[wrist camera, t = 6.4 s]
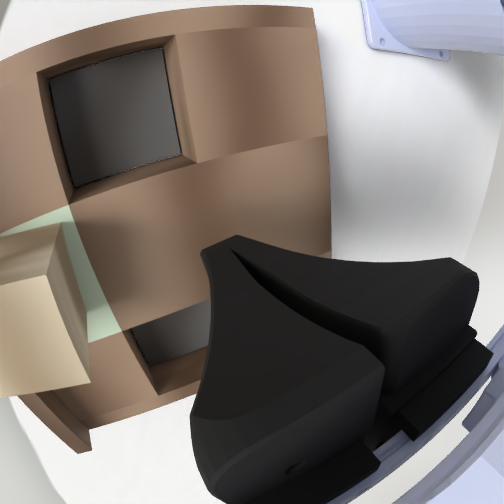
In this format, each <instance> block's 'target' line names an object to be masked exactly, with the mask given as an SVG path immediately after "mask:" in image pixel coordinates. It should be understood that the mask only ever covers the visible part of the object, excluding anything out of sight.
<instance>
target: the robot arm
mask: <svg viewBox="0 0 504 504" xmlns="http://www.w3.org/2000/svg"><path fill="white" fill-rule="evenodd" d="M361 2H362V8H363V14H364V21H365V27H366V35H367V42H368V44H369V46H370V47H371V48H373V49H379V50H387V51H394V52H400V53H407V54H413V55H418V56H423V57H429V58H433V59H438V60H443V61H449V60H450V51H449V50H462V51H473V52H483V53H491V54H498V55H504V0H361ZM380 42H381V44H380ZM200 256H201V259H202V261H203V264H204V267H205V270H206V272H207V275H208V278H209V284H210V298H211V321H210V333H209V342H208V349H207V355H206V360H205V364H204V369H203V373H202V378H201V382H200V385H199V389H198V392H197V395H196V398H195V401H194V404H193V407H192V410H191V413H190V428H191V439H192V446H193V452H194V456H195V460H196V464H197V467H198V470H199V472H200V474H201V477H202V479H203V481H204V483H205V485H206V487H207V489H208V491H209V492H210V493H211V494H212V495H213V496H214V497H216V498H218V499H219V500H221V501H223V502H225V503H226V504H348V503H349V502H351V501H352V500H354V499H355V498H357V497H358V496H360V495H361V494H363V493H364V492H366V491H367V490H369V489H370V488H372V487H373V486H374V485H376V484H377V483H379V482H380V481H381V480H383V479H384V478H385V477H387V476H388V475H389V474H391V473H392V472H393V471H395V470H396V469H397V468H398V467H400V466H401V465H402V464H403V463H405V462H406V461H407V460H408V459H409V458H411V457H412V456H413V455H414V454H415V453H417V452H418V451H419V450H420V449H421V448H422V447H423V446H425V444H427V443H428V442H429V441H430V440H431V439H432V438H433V437H434V436H435V435H436V434H438V433H439V432H440V431H441V430H442V429H443V428H444V427H445V426H446V425H447V424H448V423H449V422H450V421H451V420H452V419H453V418H454V417H455V416H456V415H457V414H458V413H459V412H460V410H461V409H462V408H463V407H464V406H465V405H466V404H467V403H468V402H469V401H470V400H471V399H472V397H473V396H474V395H475V394H476V393H477V392H478V391H479V389H480V388H481V387H482V386H483V385H484V384H485V382H486V381H487V380H488V379H489V377H490V376H491V379H492V380H491V381H490V383H489V384H488V386H487V387H486V388H485V389H484V391H483V393H482V395H481V397H480V398H479V400H478V401H477V403H476V404H475V406H474V407H473V409H472V410H471V412H470V413H469V414H468V415H467V417H466V418H465V419H464V420H463V422H462V425H463V426H464V427H465V428H466V429H467V430H468V431H469V432H470V433H469V434H468V435H467V436H466V437H465V438H464V439H463V440H462V441H461V442H460V444H459V445H458V446H457V447H456V448H455V449H454V450H453V451H452V452H451V453H450V454H449V455H448V456H447V457H446V458H445V459H444V460H443V461H442V462H440V463H439V464H438V465H437V466H436V467H435V468H434V469H433V470H432V471H431V472H430V473H428V474H427V475H426V476H425V477H424V478H423V479H422V480H421V481H420V482H418V483H417V484H416V485H415V486H414V487H412V488H411V489H410V490H409V491H407V492H406V493H405V494H404V495H402V496H401V497H400V498H399V499H397V500H396V501H395V502H393V503H392V504H504V325H503V326H502V327H501V329H500V330H499V331H498V333H497V334H496V335H495V336H494V338H493V339H492V340H491V341H490V342H489V344H488V345H487V346H486V347H485V346H484V345H482V344H481V343H480V342H479V341H477V340H476V339H475V337H476V335H477V331H476V330H475V329H473V328H472V327H471V326H469V325H468V324H469V321H470V319H471V316H472V313H473V309H474V307H475V303H476V300H477V296H478V292H479V278H478V275H477V273H476V272H474V271H472V270H471V269H469V268H467V267H466V266H464V265H463V264H461V263H459V262H458V261H456V260H454V259H453V258H450V257H448V258H440V259H432V260H423V261H413V262H358V261H345V260H337V259H330V258H323V257H317V256H312V255H307V254H303V253H298V252H294V251H290V250H286V249H283V248H279V247H276V246H272V245H269V244H266V243H263V242H260V241H256V240H253V239H250V238H247V237H244V236H240V235H234V236H232V237H230V238H227V239H225V240H223V241H220V242H218V243H216V244H214V245H211V246H209V247H207V248H205V249H202V251H201V253H200Z"/></svg>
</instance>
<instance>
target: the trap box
mask: <svg viewBox="0 0 504 504" xmlns="http://www.w3.org/2000/svg"><path fill="white" fill-rule="evenodd" d="M162 47H163V52H164V58H163V52H162V49H157V50H152V51H147V52H142V51H146V50H151V49H156V48H162ZM137 52H142V53H138V54H133V53H137ZM128 54H133V55H129V56H125V57H121V58H117V59H113V60H109V59H112V58H116V57H120V56H124V55H128ZM164 59H165V64H164ZM105 60H109V61H105ZM101 61H105V62H102V63H98V62H101ZM95 63H98V64H95ZM91 64H95V65H92V66H88V65H91ZM165 65H166V70H165ZM85 66H88V67H85ZM81 67H85V68H82V69H79V70H76V71H73V72H70V73H67V74H64V73H66V72H69V71H72V70H75V69H78V68H81ZM166 71H167V76H166ZM61 74H64V75H61ZM58 75H61V76H58ZM55 76H58V77H56V78H53V77H55ZM167 77H168V82H167ZM50 78H53V79H50ZM48 79H50V85H51V91H52V97H53V102H54V107H55V112H56V116H57V121H58V126H59V130H60V134H61V138H62V142H63V146H64V150H65V154H66V158H67V162H68V165H69V169H70V172H71V176H72V179H73V182H74V186H75V187H78V186H80V185H83V184H86V183H89V182H92V181H94V180H97V179H100V178H103V177H106V176H109V175H112V174H115V173H118V172H121V171H124V170H127V169H130V168H134V167H137V166H140V165H143V164H147V163H150V162H153V161H157V160H160V159H164V158H167V157H171V156H174V155H178V154H181V153H182V155H178V156H174V157H171V158H167V159H164V160H160V161H157V162H153V163H150V164H147V165H143V166H140V167H137V168H134V169H130V170H127V171H124V172H121V173H118V174H115V175H112V176H109V177H106V178H103V179H100V180H97V181H94V182H92V183H89V184H86V185H83V186H81V187H78V188H75V189H74V187H73V183H72V180H71V177H70V173H69V170H68V166H67V162H66V159H65V155H64V151H63V147H62V143H61V139H60V135H59V131H58V127H57V122H56V118H55V113H54V108H53V103H52V98H51V93H50V87H49V81H48ZM168 83H169V88H170V94H171V99H170V94H169V88H168ZM171 100H172V105H173V110H172V105H171ZM173 111H174V116H175V121H174V116H173ZM175 122H176V126H175ZM176 127H177V132H178V137H179V142H178V137H177V132H176ZM179 143H180V147H179ZM180 148H181V152H180ZM59 222H61V223H62V227H63V232H64V236H65V240H66V244H67V248H68V252H69V256H70V259H71V263H72V267H73V270H74V274H75V277H76V280H77V284H78V287H79V290H80V293H81V296H82V300H83V303H84V306H85V309H86V311H87V335H88V352H89V366H90V377H91V383H86V384H81V385H76V386H71V387H66V388H60V389H55V390H49V391H43V392H37V393H30V394H24V395H17V396H18V397H19V398H20V399H21V400H22V401H23V402H24V404H25V405H26V406H27V407H28V408H29V409H30V410H31V411H32V412H33V413H34V414H35V415H36V416H37V417H38V418H39V419H40V420H41V421H42V422H43V423H44V424H45V425H46V426H47V427H48V428H49V429H50V430H51V431H52V432H54V433H55V434H56V435H57V436H58V437H59V438H60V439H61V440H62V441H63V442H65V443H66V444H67V445H68V446H69V447H70V448H71V449H73V450H74V451H75V452H76V453H77V454H79V453H83V452H87V451H91V450H92V447H91V441H90V434H89V429H93V428H96V427H100V426H103V425H107V424H110V423H113V422H116V421H120V420H123V419H126V418H129V417H132V416H135V415H138V414H141V413H144V412H147V411H150V410H153V409H156V408H159V407H161V406H164V405H167V404H170V403H172V402H175V401H178V400H181V399H183V398H186V397H188V396H191V395H194V394H196V393H197V392H198V389H199V385H200V382H201V378H202V373H203V369H204V364H205V360H206V355H207V349H208V342H209V333H210V321H211V298H210V284H209V278H208V275H207V272H206V270H205V267H204V264H203V261H202V259H201V256H200V253H201V251H202V249H205V248H207V247H209V246H211V245H214V244H216V243H218V242H220V241H223V240H225V239H227V238H230V237H232V236H234V235H240V236H244V237H247V238H250V239H253V240H256V241H260V242H263V243H266V244H269V245H272V246H276V247H279V248H283V249H286V250H290V251H294V252H298V253H303V254H307V255H312V256H317V257H323V258H330V259H331V199H330V174H329V155H328V139H327V125H326V113H325V102H324V91H323V81H322V72H321V64H320V55H319V48H318V40H317V33H316V26H315V19H314V13H313V8H306V7H292V6H272V5H233V6H213V7H200V8H189V9H180V10H172V11H165V12H158V13H152V14H146V15H141V16H136V17H131V18H126V19H121V20H117V21H113V22H109V23H105V24H101V25H97V26H93V27H90V28H86V29H83V30H79V31H76V32H73V33H70V34H67V35H64V36H61V37H58V38H55V39H52V40H49V41H47V42H44V43H41V44H39V45H36V46H34V47H31V48H29V49H26V50H24V51H22V52H19V53H17V54H15V55H13V56H10V57H8V58H6V59H4V60H2V61H0V237H3V236H7V235H11V234H14V233H18V232H22V231H26V230H30V229H34V228H38V227H42V226H46V225H50V224H55V223H59ZM130 328H131V330H132V332H133V334H134V336H135V338H136V340H137V342H138V344H139V346H140V348H141V350H142V352H143V354H144V356H145V357H146V359H147V361H148V363H149V365H148V363H147V361H146V359H145V357H144V356H143V354H142V352H141V350H140V348H139V346H138V344H137V342H136V340H135V338H134V336H133V334H132V332H131V330H130Z"/></svg>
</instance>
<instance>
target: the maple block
mask: <svg viewBox="0 0 504 504" xmlns="http://www.w3.org/2000/svg"><path fill="white" fill-rule="evenodd" d="M86 383H91V377H90V366H89V352H88V335H87V311H86V309H85V306H84V303H83V300H82V296H81V293H80V290H79V287H78V284H77V280H76V277H75V274H74V270H73V267H72V263H71V259H70V256H69V252H68V248H67V244H66V240H65V236H64V232H63V227H62V223H61V222H59V223H55V224H50V225H46V226H42V227H38V228H34V229H30V230H26V231H22V232H18V233H14V234H11V235H7V236H3V237H0V398H2V397H10V396H17V395H24V394H30V393H37V392H43V391H49V390H55V389H60V388H66V387H71V386H76V385H81V384H86Z"/></svg>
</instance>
